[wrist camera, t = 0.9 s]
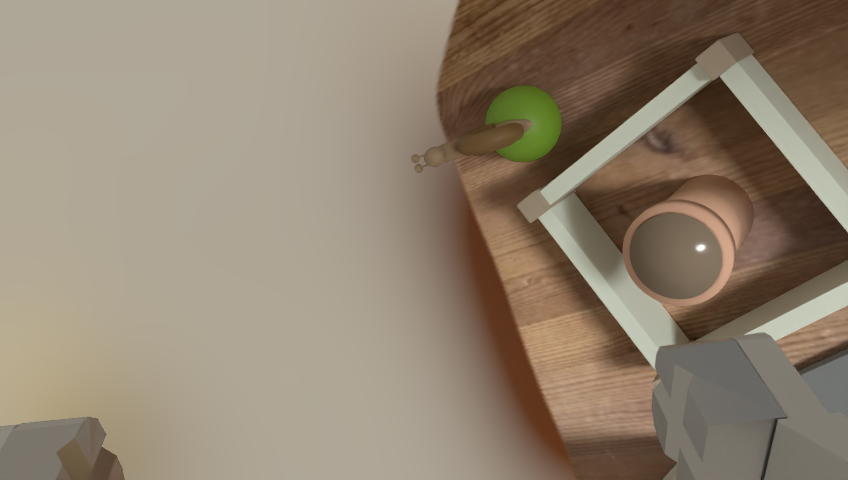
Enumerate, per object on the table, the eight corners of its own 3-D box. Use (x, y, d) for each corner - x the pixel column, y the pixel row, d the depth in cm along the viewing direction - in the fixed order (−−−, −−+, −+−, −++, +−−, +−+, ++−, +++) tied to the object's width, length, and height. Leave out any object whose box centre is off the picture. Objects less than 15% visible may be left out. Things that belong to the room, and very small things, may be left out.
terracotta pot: (720, 150, 47) (684, 184, 40) (781, 225, 47) (755, 273, 39) (646, 202, 51) (600, 242, 44) (701, 272, 50) (664, 324, 43)
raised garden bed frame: (738, 32, 45) (718, 39, 40) (918, 249, 43) (918, 281, 38) (548, 186, 55) (516, 205, 51) (687, 366, 53) (666, 401, 49)
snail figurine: (486, 97, 55) (397, 125, 46) (560, 70, 52) (479, 94, 42) (508, 164, 56) (425, 205, 47) (582, 142, 52) (508, 182, 43)
